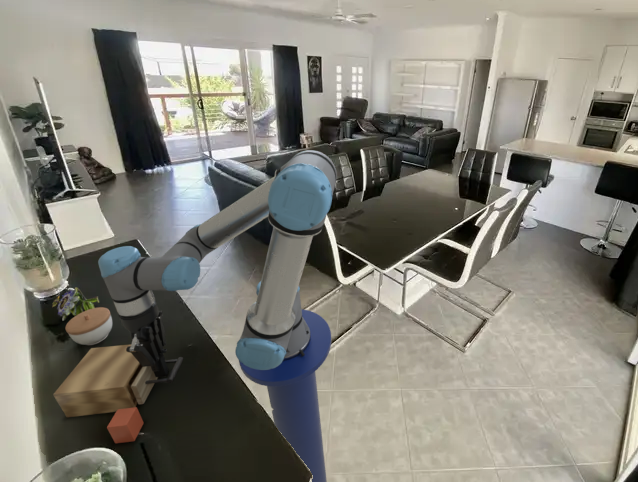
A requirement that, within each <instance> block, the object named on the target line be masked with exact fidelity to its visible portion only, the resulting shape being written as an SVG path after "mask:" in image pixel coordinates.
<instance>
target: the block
mask: <svg viewBox="0 0 638 482" xmlns="http://www.w3.org/2000/svg"><path fill="white" fill-rule="evenodd" d="M143 425H144V420H143V418H142V416H141V414H140V412H139V409H138V406H136V407H134V408H125V409H118V410H117V411H116V412H114V415H113V416H112V418H111V420H110V422H109V423H108V424H107V427H106V429H107V431H108V433H109V434H110V435H109V436H110V437H111V438H112V440H113V442H114V444H122V443H129V442H135V441H136V439H137V437H138V435H139V433H140V431H141V429H142V428H143Z"/></svg>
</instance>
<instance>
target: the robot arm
mask: <svg viewBox="0 0 638 482" xmlns="http://www.w3.org/2000/svg"><path fill="white" fill-rule="evenodd" d="M337 179H338V175H337V169H336V166H335V164H334V162H333V160H332V159H331V158H330V157H329V156H328V155H327V154H324V153H323V152H321V151H318V150H312V149H308V150H303V151H300V152H298V153H296V154H295V155H293V156H292V158H290V160H289V161H287V162H286V163H285V164H283V165H282V166H280V167H279V168H277V169H276V170H275V172H274V176H273V177H271V178H269V180H267V181H265V182H264V183H262V184H261V185H259V186H258V187H256V188H254V189H253V190H251V191H249V192H248V193H246V194H245V195H244V196H241V198H239V199H238V200H236V201H234V202H233V203H231V204H230V205H228V206H227V207H225V208H223V209H222V210H221V211H219V212H218V213H216V214H214V215H213V216H211V217H210V218H208V219H207V220H205V221H204V222H202V223H199V224H196V225H194V226H193V227H191V228H189V230H187V231H186V232H185V234H184V235H183V236H182V237H181V238H180V239H178V241H177V242H176V243H174V245H172V247H171V248H169V249H168V250H167V251H166V252H165V253H164V254H163V255H162V256H142V255H141V253H140V251H139V249H138V248H136V247H134V246H131V245H124V246H119V247H115V248H112V249H110V250H108V251H106V252H105V253H104V254H102V255H101V256H100V257H99V259H98V261H97V264H98V268H99V272H100V275H101V276H100V277H101V278H102V280H103V281H104V283H105V285H106V289H107V291H108V293H109V295H110V297H111V300H112V302H113V305H114V307H115V310H116V312H117V314H118V318H119V320H120V323H121V326H122V327H123V328H124V329H126V330H127V331H129V333H130V334H129V335H130V337H129V338H130V339H131V340H132V341H131V344H130V345H131V346H128V347H127V348H126V351H127V352H130V353H132V355H133V356H134V357H135V358H136V359H137V361H138V362H139V363H140V364H141V365H142V367H147V366H151V369H152V371H153V372H154V374H155V377H158V378H163V377H164V378H165V377H167V376H168V375H169V372H170V370H169V368H168V365H167V363H166V362H165V360H166V359H165V354H166V353H167V351H168V350H167V348H164V347H166V345H167V339H166V332H165V327H164V326H165V325H164V319H163V318H164V313H163V310H159V306H158V304H157V301H156V297H155V295H154V292H153V291H164V292H165V291H166V292H167V291H168V292H177V291H185V290H186V291H187V290H191V289H192V288H194V287H195V286H196V285H197V283H198V282H199V278H200V275H201V264H200V263H201V262H202V261H203V260H204V259H205V257H206V256H207V255H209V254H211V253H212V252H214V251H215V250H217V249H218V248H219V247H221V246H223V245H224V244H226V243H228V242H229V241H231V240H233V239H234V238H236V237H238V236H239V235H241V234H242V233H244V232H246V231H247V230H249V229H250V228H252V227H255V226H256V225H257V224H258V223H260V222H262V221H263V220H265V219H268V222H269V224H270V225H271V227H272V232H271V235H270V236H271V237H270V239H269V240H270V241H269V245H268V249H267V254H266V258H265V263H264V267H263V270H262V275H261V280H260V281H259V282H258V283H257V285H256V291H255V293H256V296H257V297H256V300H255V302H253V303H252V304H251V305H250V306H249V308H248V310H247V313H246V317H245V321H244V326H243V329H242V333H241V335H240V338H239V340H238V341H236V347H235V352H234V353H235V357H236V358H237V361H238V362H239V361H240V362H242V363H243V364H244V365H246V366H248V367H250V368H253V369H258V370H269V369H273V368H275V367H277V366H279V365H280V364H281V363H282V361H286V360H290V359H293V358H295V357H297V356H298V355H300V354H301V355H302V357H303V356H304V355H305V354H304V353H303V352H304V351H305V349H306V348H307V347H308V345H309V343H310V338H311V336H310V329H309V327H308V325H307V323H306V322H305V320H304V318H303V317H302V301H301V291H300V290H301V288H300V282H301V279H302V276H303V272H304V268H305V265H306V261H307V258H308V255H309V251H310V248H311V244H312V240H313V238H314V237H315V236H317V235H319V234H320V233H321V232H322V230H323V228H324V225H325V221H326V218H327V215H328V213H329V211H330V209H331V206H332V202H333V201H332V200H333V194H334V191H335V187H336V183H337Z"/></svg>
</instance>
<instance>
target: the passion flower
mask: <svg viewBox="0 0 638 482" xmlns="http://www.w3.org/2000/svg"><path fill="white" fill-rule="evenodd" d="M61 296H62V298H60V294H58V295H57V296H56V298H55V299H54V300H53V302H52V305H51V308H52V309H53V308H55V307H56V306H57V307H56V310H57V311H58V312H57V316H59V317H62V319H61V320H62V322H65V321H66V320H67V319H68V317H69V316H70V315H71V314H72V316H74V317H75V316H76V315H78V314H80V313H82V312H84V311H87V310H89V309H93V308H96V307H95V304H94V303H97V304H100V299H99V296H93V297H91V298H86V297H85V295H84V294H83V292H82V291H81V289H80V288H79V287H74V289H70V290H67V291H66V292H65V293H64V294H62V295H61ZM77 304H78V305H77Z"/></svg>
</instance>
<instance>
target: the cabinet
mask: <svg viewBox="0 0 638 482" xmlns="http://www.w3.org/2000/svg"><path fill="white" fill-rule="evenodd" d="M128 346H131V344H120V345H112V346H101V347H99V346H98V347H91V348H90V349H89V350H88V351H87V353H86V354H85V355H84V356H83V357H82V359H81V360H80V361H79V363H78V364H77V365H76V366H75V367H74V368H73V369H72V371H71V372H70V373H69V374H68V376H67V377H66V378H65V379H64V380H63V381H62V383H61V384H60V385H59V387H58V388H57V389H56V390H55V391H54V393H53V394H52V395H53V397H54V398H55V401H56V402H57V404H58V405H59V408H61V410H62V412H63V413H64V416H65V417H66V418H75V417H83V416H91V415H100V414H108V413H116V411H117V410H118V409H125V408H134V407H137V405H138V402H137V399H135V401H134V402H133V400H132V397H131V395H130V393H129V391H128V389H127V384H128V383H129V381H130V379H131V378H132V376H133V374H134V373H135V371H136V370H137V368H138V366H139V365H140V363H139V362H138V361H137V359H136V358H135V357H134V356H133V355H132V353H130V352H127V351H126V348H127V347H128Z"/></svg>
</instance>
